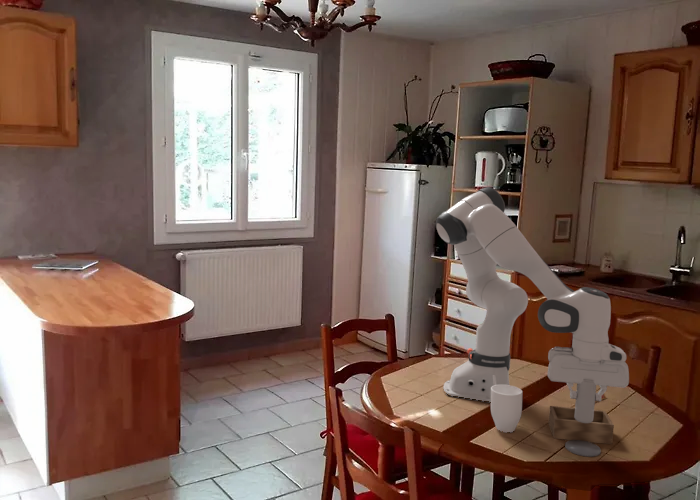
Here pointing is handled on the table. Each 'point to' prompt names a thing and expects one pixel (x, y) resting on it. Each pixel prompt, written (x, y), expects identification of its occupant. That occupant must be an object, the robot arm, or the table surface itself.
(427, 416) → the table surface
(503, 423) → the mug
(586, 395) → the beverage can
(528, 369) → the table surface
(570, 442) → the slate coaster
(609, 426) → the box
